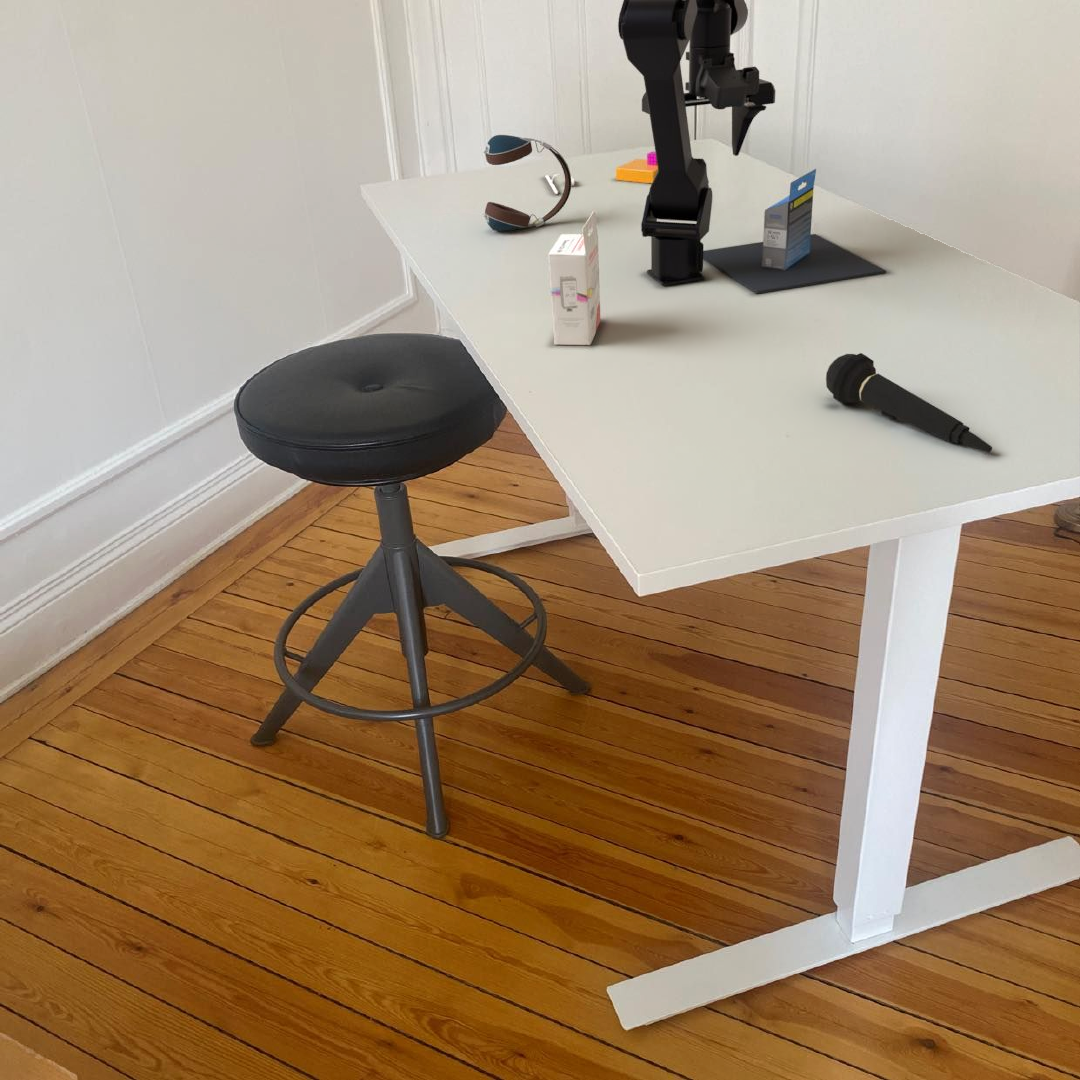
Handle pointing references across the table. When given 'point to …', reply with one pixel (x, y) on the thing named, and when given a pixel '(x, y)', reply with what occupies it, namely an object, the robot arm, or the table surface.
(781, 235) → the blue epson carton
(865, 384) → the microphone
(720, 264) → the desk mat
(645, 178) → the orange and magenta block
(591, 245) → the ink cartridge box
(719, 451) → the table surface
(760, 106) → the robot arm
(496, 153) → the headphones
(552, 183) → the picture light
